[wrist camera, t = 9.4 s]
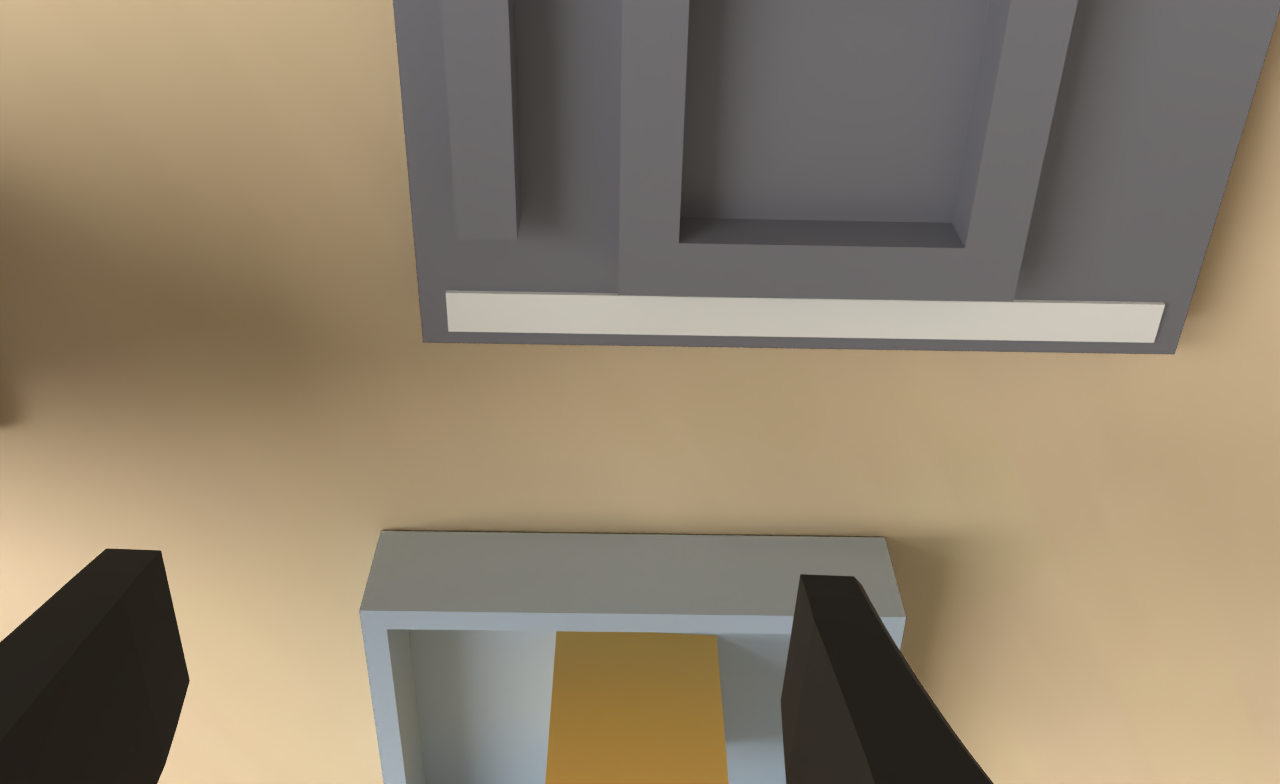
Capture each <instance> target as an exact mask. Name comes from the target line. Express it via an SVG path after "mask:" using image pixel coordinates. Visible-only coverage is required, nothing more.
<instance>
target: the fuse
mask: <svg viewBox="0 0 1280 784" xmlns="http://www.w3.org/2000/svg"><path fill="white" fill-rule="evenodd" d="M545 784H729V781H728V769H727V757H726V745H725V733H724V720H723V708H722V696H721V684H720V672H719V659H718V647H717V635H700V634H679V633H657V632H577V631H556V643H555V657H554V671H553V684H552V698H551V711H550V725H549V739H548V752H547V766H546V779H545Z"/></svg>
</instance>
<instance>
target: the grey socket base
mask: <svg viewBox="0 0 1280 784" xmlns="http://www.w3.org/2000/svg"><path fill="white" fill-rule="evenodd" d="M393 6H394V17H395V29H396V40H397V51H398V63H399V74H400V86H401V97H402V108H403V120H404V131H405V142H406V154H407V165H408V177H409V188H410V199H411V211H412V222H413V234H414V245H415V256H416V268H417V279H418V291H419V302H420V313H421V325H422V336H423V342H427V343H490V344H554V345H617V346H681V347H744V348H808V349H871V350H935V351H998V352H1062V353H1125V354H1175V351H1176V348H1177V345H1178V342H1179V338H1180V335H1181V332H1182V328H1183V325H1184V322H1185V319H1186V315H1187V312H1188V309H1189V306H1190V302H1191V299H1192V296H1193V292H1194V289H1195V286H1196V283H1197V279H1198V276H1199V273H1200V270H1201V266H1202V263H1203V260H1204V256H1205V253H1206V250H1207V247H1208V243H1209V240H1210V237H1211V233H1212V230H1213V227H1214V224H1215V220H1216V217H1217V214H1218V211H1219V207H1220V204H1221V201H1222V197H1223V194H1224V191H1225V188H1226V184H1227V181H1228V178H1229V175H1230V171H1231V168H1232V165H1233V161H1234V158H1235V155H1236V152H1237V148H1238V145H1239V142H1240V138H1241V135H1242V132H1243V129H1244V125H1245V122H1246V119H1247V116H1248V112H1249V109H1250V106H1251V102H1252V99H1253V96H1254V93H1255V89H1256V86H1257V83H1258V80H1259V76H1260V73H1261V70H1262V66H1263V63H1264V60H1265V57H1266V53H1267V50H1268V47H1269V43H1270V40H1271V37H1272V34H1273V30H1274V27H1275V24H1276V21H1277V17H1278V14H1279V11H1280V0H393Z"/></svg>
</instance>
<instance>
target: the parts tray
mask: <svg viewBox="0 0 1280 784" xmlns="http://www.w3.org/2000/svg"><path fill="white" fill-rule="evenodd" d="M800 574H807V575H834V576H854V577H855V578H856V579H857V580H858V581H859V582H860V583H861V584H862V586H863V588H864V590H865V592H866V593H867V595H868V597H869V599H870V601H871V602H872V604H873V606H874V608H875V610H876V611H877V613H878V615H879V617H880V618H881V620H882V622H883V624H884V625H885V627H886V629H887V630H888V632H889V634H890V635H891V637H892V639H893V640H894V642H895V644H896V645H897V647H898V649H899V650H900V648H901V642H902V637H903V632H904V627H905V621H906V614H905V611H904V607H903V603H902V600H901V596H900V592H899V588H898V585H897V581H896V577H895V574H894V570H893V566H892V563H891V559H890V555H889V551H888V548H887V544H886V540H885V537H815V536H740V535H664V534H588V533H512V532H437V531H381V533H380V536H379V540H378V544H377V547H376V551H375V555H374V559H373V562H372V566H371V570H370V573H369V577H368V581H367V584H366V588H365V592H364V595H363V599H362V603H361V607H360V610H359V611H360V619H361V626H362V633H363V640H364V647H365V654H366V661H367V668H368V675H369V683H370V690H371V697H372V704H373V711H374V718H375V725H376V732H377V740H378V747H379V754H380V761H381V768H382V775H383V782H384V784H545V779H546V766H547V752H548V739H549V725H550V711H551V698H552V684H553V671H554V657H555V643H556V631H577V632H657V633H679V634H700V635H717V647H718V659H719V672H720V684H721V696H722V708H723V720H724V733H725V745H726V757H727V769H728V781H729V784H786V774H785V761H784V748H783V732H782V716H781V695H782V689H783V682H784V676H785V669H786V663H787V656H788V650H789V644H790V637H791V631H792V624H793V618H794V612H795V605H796V599H797V592H798V586H799V579H800Z"/></svg>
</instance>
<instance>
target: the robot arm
mask: <svg viewBox="0 0 1280 784" xmlns="http://www.w3.org/2000/svg"><path fill="white" fill-rule="evenodd" d="M188 684H189V676H188V671H187V667H186V662H185V658H184V653H183V649H182V644H181V640H180V635H179V631H178V626H177V621H176V617H175V612H174V608H173V603H172V599H171V594H170V590H169V585H168V581H167V576H166V571H165V567H164V562H163V558H162V553H161V551H157V550H130V549H105V550H104V551H103V552H102V553H101V554H100V555H98V556H97V557H96V558H95V559H94V560H93V561H92V562H90V563H89V564H88V565H87V566H86V567H85V568H84V569H82V570H81V571H80V572H79V573H78V574H77V575H76V576H74V577H73V578H72V579H71V580H70V581H69V582H68V583H67V584H65V585H64V586H63V587H62V588H61V589H60V590H59V591H58V592H56V593H55V594H54V595H53V596H52V597H51V598H50V599H49V600H47V601H46V602H45V603H44V604H43V605H42V606H41V607H40V608H39V609H37V610H36V611H35V612H34V613H33V614H32V615H31V616H30V617H28V618H27V619H26V620H25V621H24V622H23V623H22V624H21V625H19V626H18V627H17V628H16V629H15V630H14V631H13V632H12V633H10V634H9V635H8V636H7V637H6V638H5V639H4V640H2V641H1V642H0V784H157V783H158V780H159V778H160V775H161V773H162V771H163V768H164V766H165V763H166V760H167V757H168V754H169V750H170V747H171V744H172V741H173V737H174V734H175V731H176V727H177V724H178V720H179V717H180V713H181V710H182V706H183V702H184V699H185V695H186V691H187V688H188ZM781 716H782V732H783V748H784V761H785V774H786V784H994V783H993V782H992V781H991V780H990V778H989V777H988V776H987V774H986V773H985V772H984V771H983V769H982V768H981V767H980V765H979V764H978V763H977V762H976V760H975V759H974V758H973V756H972V755H971V754H970V753H969V751H968V750H967V749H966V747H965V746H964V745H963V743H962V742H961V740H960V739H959V738H958V736H957V735H956V734H955V732H954V731H953V730H952V728H951V727H950V725H949V724H948V722H947V721H946V719H945V718H944V717H943V715H942V714H941V712H940V711H939V709H938V708H937V706H936V705H935V704H934V702H933V701H932V699H931V698H930V696H929V695H928V693H927V692H926V690H925V689H924V688H923V686H922V685H921V683H920V682H919V680H918V679H917V677H916V675H915V674H914V672H913V671H912V669H911V668H910V666H909V665H908V663H907V661H906V660H905V658H904V657H903V655H902V653H901V652H900V650H899V649H898V647H897V645H896V644H895V642H894V640H893V639H892V637H891V635H890V634H889V632H888V630H887V629H886V627H885V625H884V624H883V622H882V620H881V618H880V617H879V615H878V613H877V611H876V610H875V608H874V606H873V604H872V602H871V601H870V599H869V597H868V595H867V593H866V592H865V590H864V588H863V586H862V584H861V583H860V582H859V581H858V580H857V579H856V578H855V577H854V576H834V575H807V574H800V579H799V586H798V592H797V599H796V605H795V612H794V618H793V624H792V631H791V637H790V644H789V650H788V656H787V663H786V669H785V676H784V682H783V689H782V695H781Z"/></svg>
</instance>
